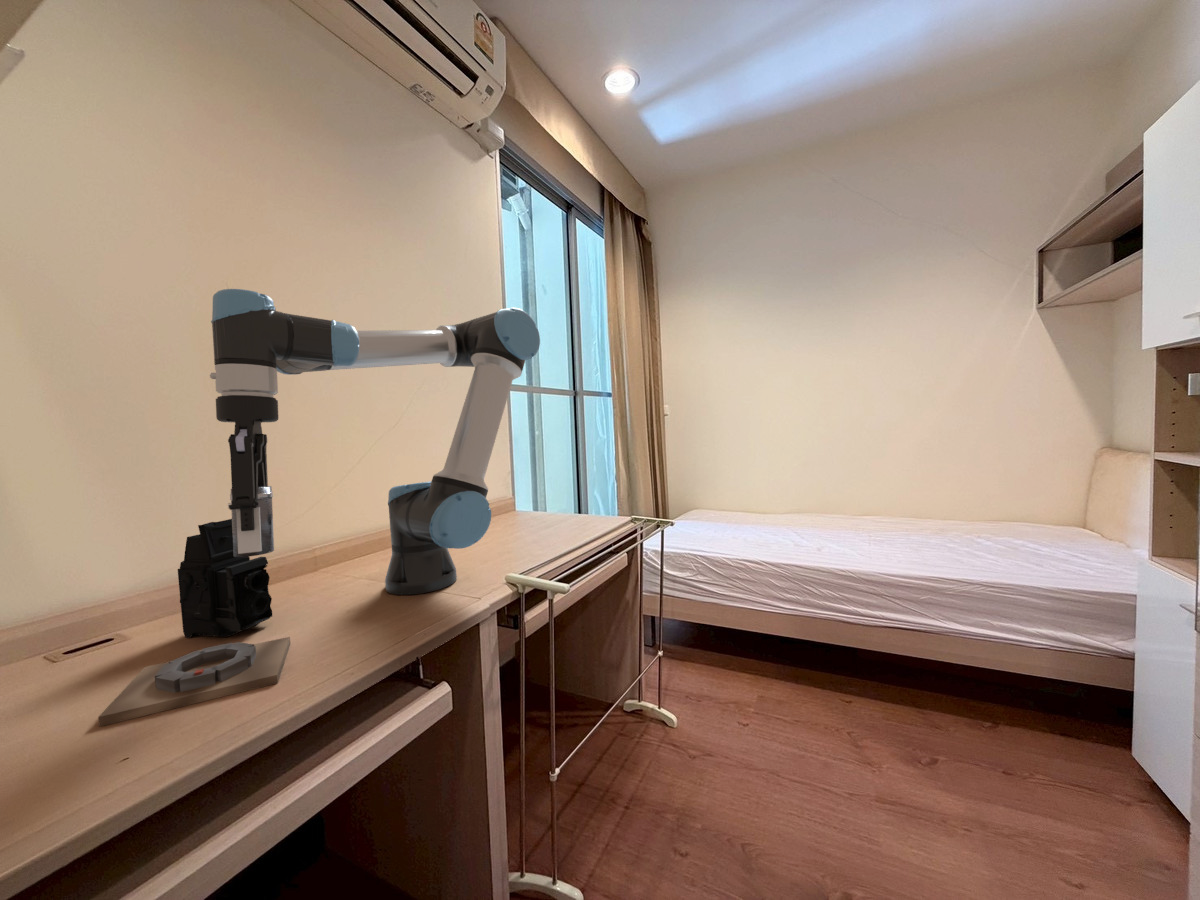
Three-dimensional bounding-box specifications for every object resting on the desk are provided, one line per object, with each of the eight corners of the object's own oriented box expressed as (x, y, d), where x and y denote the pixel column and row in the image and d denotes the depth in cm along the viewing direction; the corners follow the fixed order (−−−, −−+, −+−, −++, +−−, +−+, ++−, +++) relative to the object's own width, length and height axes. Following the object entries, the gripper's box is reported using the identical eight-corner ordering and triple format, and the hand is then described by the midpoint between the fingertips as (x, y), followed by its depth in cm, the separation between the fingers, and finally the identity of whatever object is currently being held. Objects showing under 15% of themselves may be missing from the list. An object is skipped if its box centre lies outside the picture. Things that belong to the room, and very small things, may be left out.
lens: (277, 547, 74) (274, 485, 74) (272, 553, 70) (269, 487, 69) (234, 551, 72) (231, 487, 71) (226, 559, 67) (223, 490, 67)
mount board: (290, 643, 77) (289, 625, 77) (277, 683, 65) (275, 661, 64) (145, 674, 69) (143, 654, 68) (99, 726, 56) (96, 701, 56)
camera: (237, 644, 78) (228, 526, 77) (173, 640, 80) (163, 526, 79) (289, 620, 87) (280, 514, 86) (230, 617, 90) (221, 515, 89)
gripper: (231, 400, 76) (237, 540, 77) (197, 388, 60) (205, 565, 61) (285, 401, 80) (290, 535, 80) (267, 390, 64) (274, 557, 64)
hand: (253, 547), depth 71 cm, fingers closed on lens, 5 cm apart
